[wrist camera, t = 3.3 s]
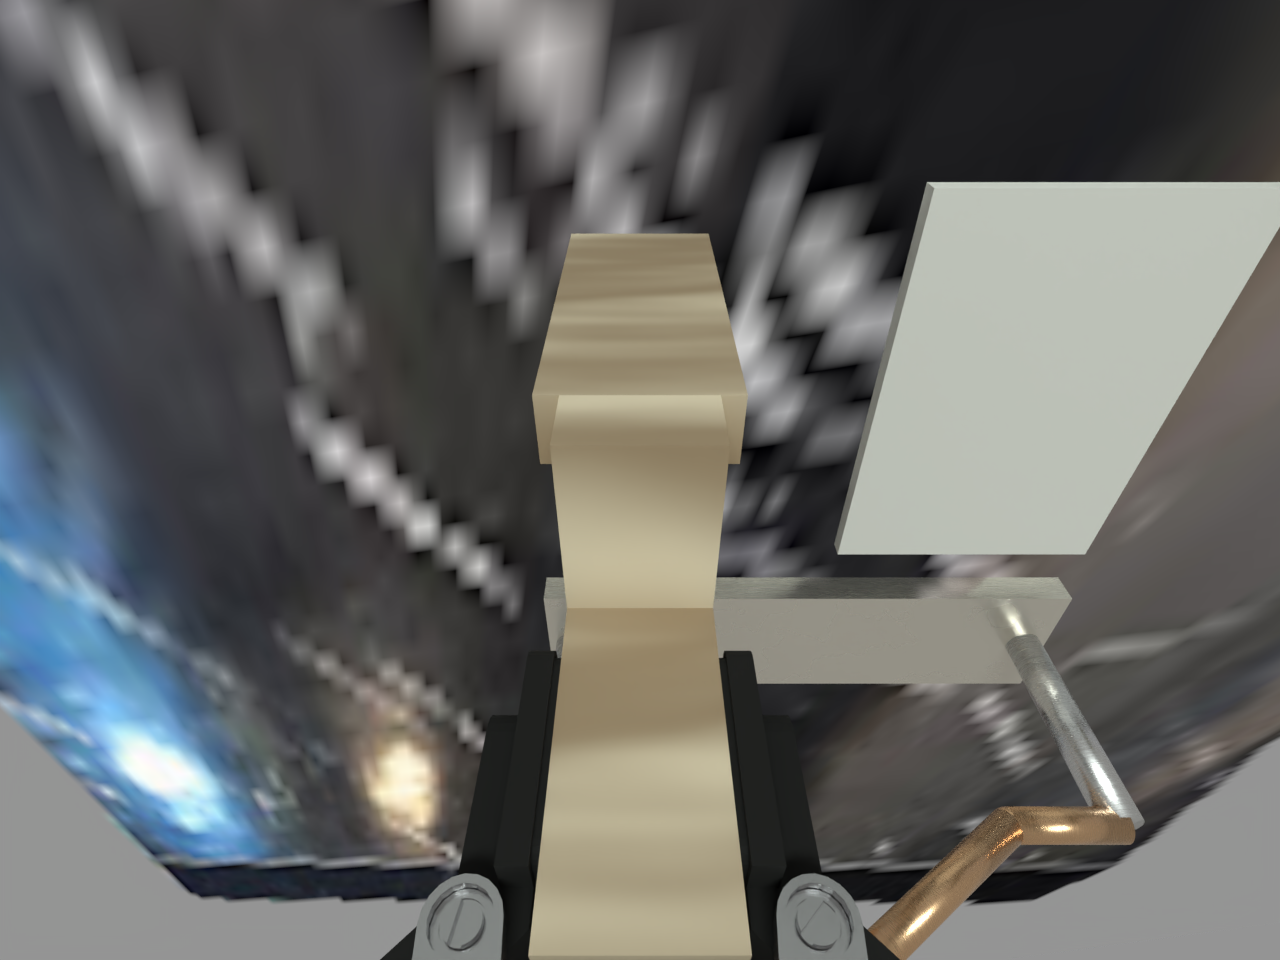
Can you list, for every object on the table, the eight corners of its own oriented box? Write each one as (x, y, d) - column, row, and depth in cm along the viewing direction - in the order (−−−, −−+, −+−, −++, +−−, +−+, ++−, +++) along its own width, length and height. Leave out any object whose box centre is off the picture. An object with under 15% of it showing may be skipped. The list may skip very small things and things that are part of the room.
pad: (926, 181, 18) (934, 188, 18) (1285, 182, 18) (1303, 188, 18) (834, 544, 27) (837, 554, 27) (1077, 543, 27) (1084, 554, 27)
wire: (546, 577, 28) (490, 951, 18) (1057, 577, 28) (1308, 951, 18) (557, 662, 32) (517, 1013, 21) (1009, 662, 32) (1191, 1012, 21)
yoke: (571, 233, 19) (430, 813, 6) (708, 233, 19) (850, 814, 6) (589, 518, 26) (540, 1071, 13) (690, 519, 26) (739, 1071, 13)
